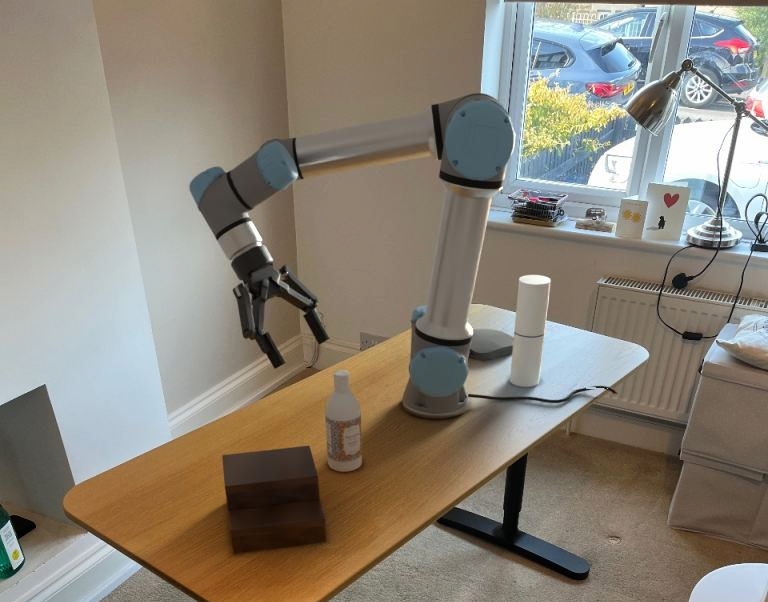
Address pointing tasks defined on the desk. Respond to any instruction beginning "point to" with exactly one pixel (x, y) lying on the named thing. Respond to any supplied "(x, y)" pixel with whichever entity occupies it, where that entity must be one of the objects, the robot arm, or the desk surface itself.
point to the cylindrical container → (529, 329)
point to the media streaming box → (490, 344)
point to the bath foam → (343, 426)
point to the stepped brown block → (273, 499)
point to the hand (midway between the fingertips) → (303, 353)
